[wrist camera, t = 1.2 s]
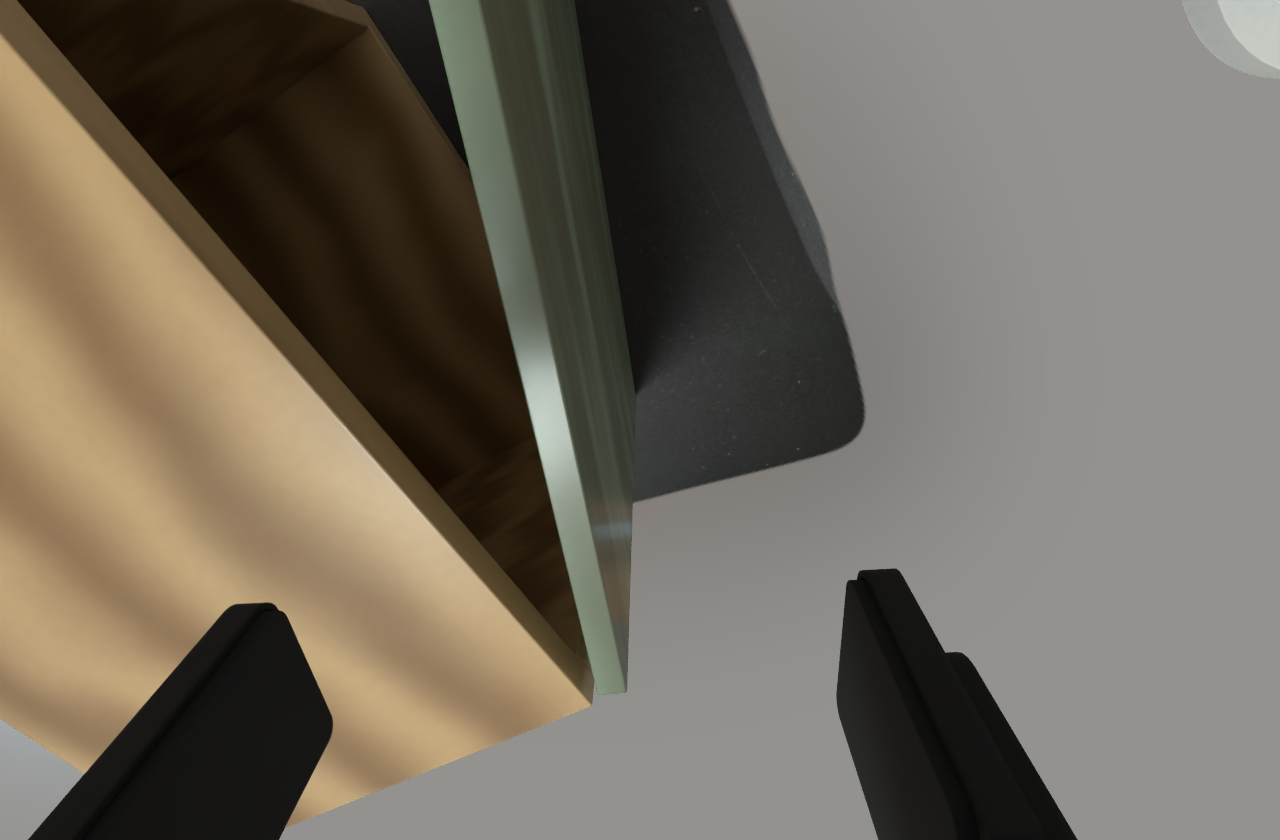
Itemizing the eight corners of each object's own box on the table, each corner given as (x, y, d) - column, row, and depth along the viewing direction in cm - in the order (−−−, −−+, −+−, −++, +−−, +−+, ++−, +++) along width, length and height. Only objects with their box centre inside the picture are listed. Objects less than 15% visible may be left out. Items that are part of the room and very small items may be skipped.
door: (667, -102, 30) (727, -681, 8) (712, 387, 41) (787, 678, 20) (541, -80, 30) (287, -574, 9) (621, 398, 42) (597, 696, 20)
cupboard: (363, 7, 32) (-238, -235, 10) (619, 401, 42) (592, 706, 20) (132, 188, 36) (-652, 292, 14) (416, 508, 46) (211, 858, 24)
